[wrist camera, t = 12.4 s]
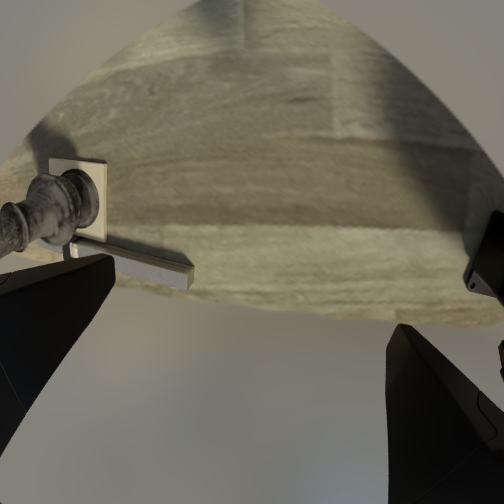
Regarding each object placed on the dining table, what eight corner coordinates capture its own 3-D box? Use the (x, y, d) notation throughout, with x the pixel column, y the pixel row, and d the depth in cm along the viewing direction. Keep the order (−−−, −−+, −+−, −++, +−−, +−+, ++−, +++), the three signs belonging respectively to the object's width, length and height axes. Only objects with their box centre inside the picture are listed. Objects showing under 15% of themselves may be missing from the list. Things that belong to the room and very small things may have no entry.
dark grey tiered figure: (98, 162, 22) (-28, 206, 11) (106, 233, 24) (-1, 306, 14) (50, 167, 23) (-61, 208, 12) (59, 230, 25) (-40, 289, 15)
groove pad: (107, 163, 22) (104, 164, 22) (106, 240, 25) (104, 242, 25) (51, 158, 23) (48, 158, 23) (54, 226, 26) (51, 228, 26)
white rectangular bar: (194, 263, 24) (185, 274, 23) (193, 284, 25) (184, 296, 23) (46, 225, 26) (33, 231, 24) (48, 242, 27) (35, 250, 25)
